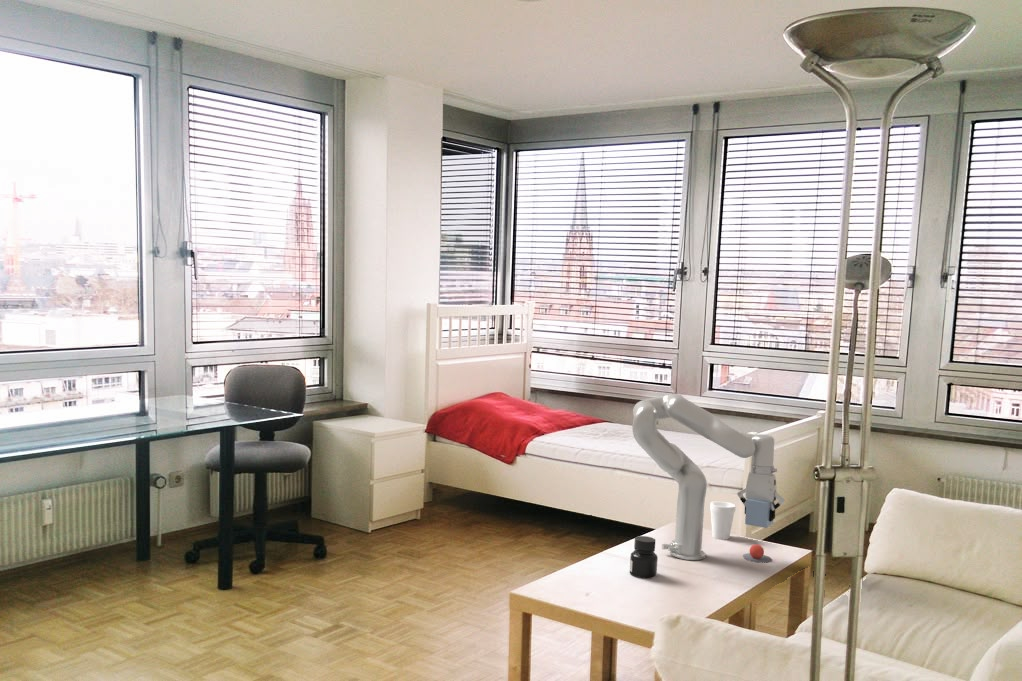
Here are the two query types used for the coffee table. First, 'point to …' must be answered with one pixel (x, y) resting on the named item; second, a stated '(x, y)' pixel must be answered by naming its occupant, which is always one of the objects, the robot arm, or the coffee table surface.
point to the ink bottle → (643, 558)
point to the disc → (762, 559)
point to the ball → (756, 551)
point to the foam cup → (721, 519)
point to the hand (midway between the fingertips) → (759, 518)
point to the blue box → (758, 513)
